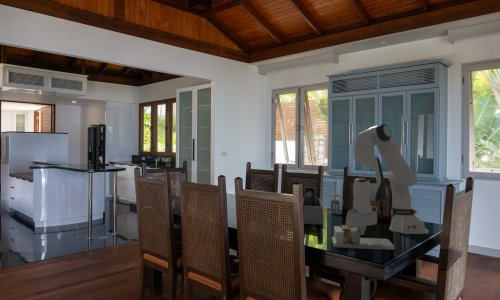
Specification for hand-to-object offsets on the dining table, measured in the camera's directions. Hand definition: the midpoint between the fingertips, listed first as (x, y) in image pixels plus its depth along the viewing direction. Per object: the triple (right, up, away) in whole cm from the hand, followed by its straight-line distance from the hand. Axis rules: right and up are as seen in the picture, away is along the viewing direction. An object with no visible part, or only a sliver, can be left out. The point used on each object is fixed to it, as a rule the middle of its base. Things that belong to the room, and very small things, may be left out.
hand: (361, 234), depth 192 cm
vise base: (0, -6, 0) cm, 6 cm away
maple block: (-7, -4, +3) cm, 9 cm away
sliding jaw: (-4, -3, +1) cm, 5 cm away
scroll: (+32, -5, +71) cm, 79 cm away
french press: (+9, -5, +93) cm, 94 cm away
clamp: (-17, -6, +71) cm, 73 cm away
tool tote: (-14, -5, +71) cm, 73 cm away
